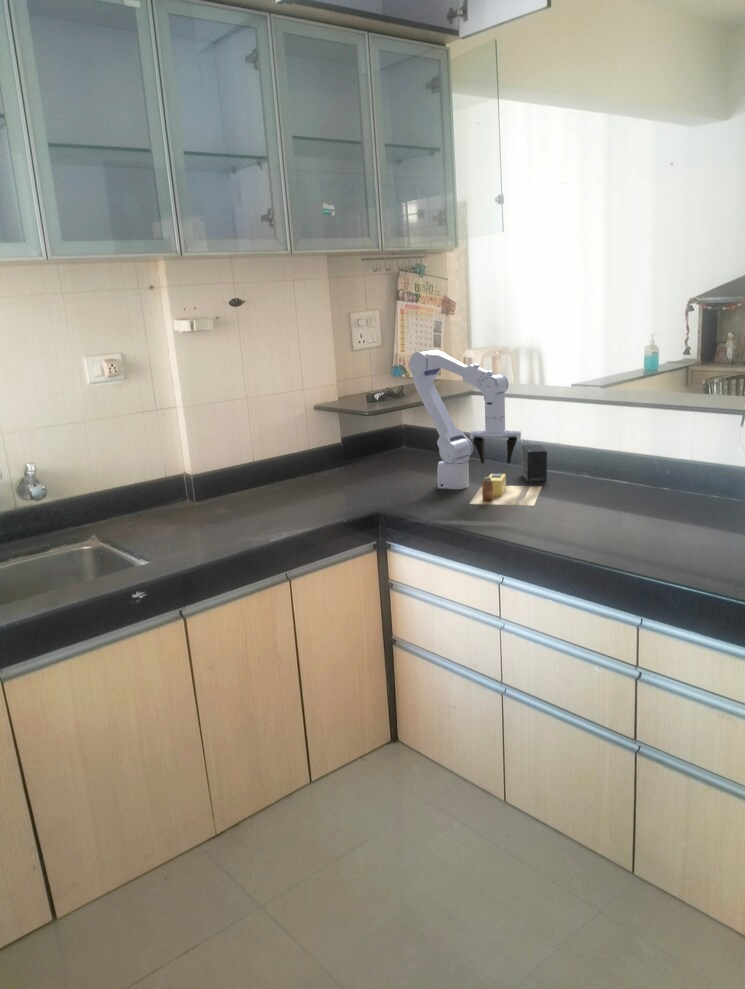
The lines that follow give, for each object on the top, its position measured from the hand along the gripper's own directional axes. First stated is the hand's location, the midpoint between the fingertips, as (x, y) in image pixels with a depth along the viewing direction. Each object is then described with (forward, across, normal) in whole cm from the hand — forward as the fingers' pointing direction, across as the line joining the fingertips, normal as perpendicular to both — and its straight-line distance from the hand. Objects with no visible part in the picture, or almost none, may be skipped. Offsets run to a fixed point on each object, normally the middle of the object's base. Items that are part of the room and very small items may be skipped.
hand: (495, 462), depth 221 cm
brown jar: (+9, -1, -9) cm, 13 cm away
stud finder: (+9, 0, 0) cm, 9 cm away
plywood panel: (+10, +4, -3) cm, 11 cm away
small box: (+10, +9, +19) cm, 23 cm away
